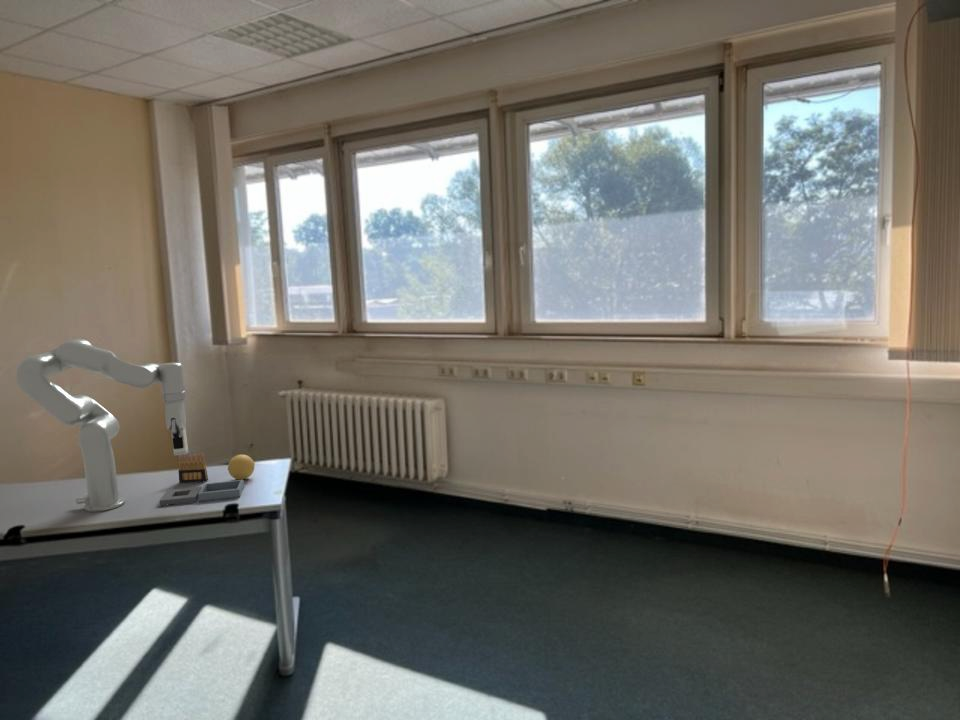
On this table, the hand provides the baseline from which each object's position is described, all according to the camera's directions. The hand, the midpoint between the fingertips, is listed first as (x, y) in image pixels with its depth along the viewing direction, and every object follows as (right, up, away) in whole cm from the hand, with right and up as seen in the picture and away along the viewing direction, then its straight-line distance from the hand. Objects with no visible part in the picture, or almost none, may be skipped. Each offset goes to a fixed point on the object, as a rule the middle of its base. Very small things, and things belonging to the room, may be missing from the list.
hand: (180, 446), depth 236 cm
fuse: (0, -3, 0) cm, 3 cm away
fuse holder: (0, -19, +2) cm, 20 cm away
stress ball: (+14, -16, +23) cm, 31 cm away
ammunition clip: (-5, -17, +23) cm, 29 cm away
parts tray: (+13, -18, +5) cm, 23 cm away
